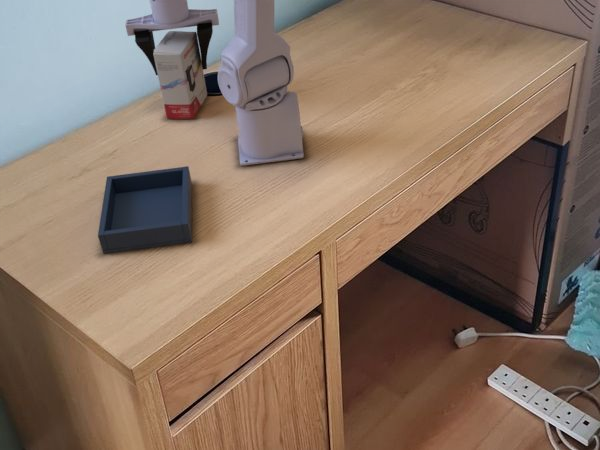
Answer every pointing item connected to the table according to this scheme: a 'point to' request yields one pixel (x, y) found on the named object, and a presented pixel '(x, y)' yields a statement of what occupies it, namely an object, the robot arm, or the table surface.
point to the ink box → (180, 74)
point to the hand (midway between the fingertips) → (181, 69)
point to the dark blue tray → (146, 210)
